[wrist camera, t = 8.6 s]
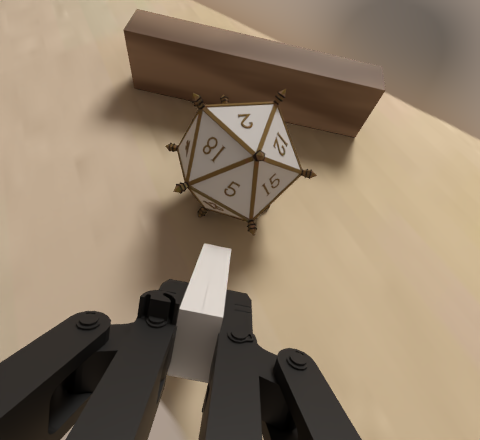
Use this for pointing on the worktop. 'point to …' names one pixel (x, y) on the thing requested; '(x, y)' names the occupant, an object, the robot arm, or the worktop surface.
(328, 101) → the rail
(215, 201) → the game die
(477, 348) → the worktop surface
